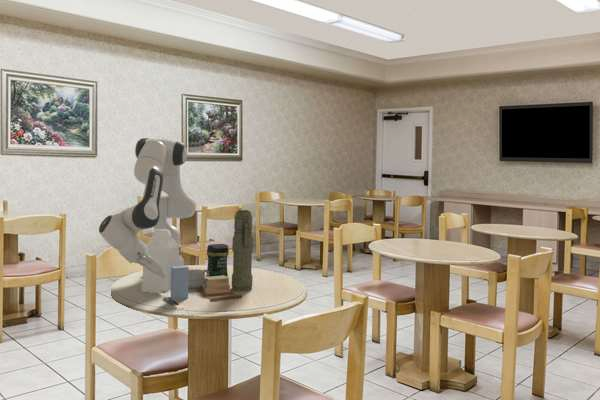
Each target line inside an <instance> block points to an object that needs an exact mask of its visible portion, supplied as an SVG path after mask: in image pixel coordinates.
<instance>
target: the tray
mask: <svg viewBox="0 0 600 400" xmlns="http://www.w3.org/2000/svg"><path fill="white" fill-rule="evenodd" d="M195 292H196V293H197V294H199V295H201V296H202V297H204V298H206V299H207V300H209V301H210V302H217V301H227V300H235V299H243V295H242V294H237V293H234V292H232V291H231V290H230V292H223V293H214V294H206V293H204V292H203V287H201V288H196V289H195Z"/></svg>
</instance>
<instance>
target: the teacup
mask: <svg viewBox="0 0 600 400" xmlns="http://www.w3.org/2000/svg"><path fill="white" fill-rule="evenodd" d="M204 277H209V271H208V270H207V269H200V268H199V269H189V277H188V290H189V289H193V290H194V289H198V288H203V284H204Z"/></svg>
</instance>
